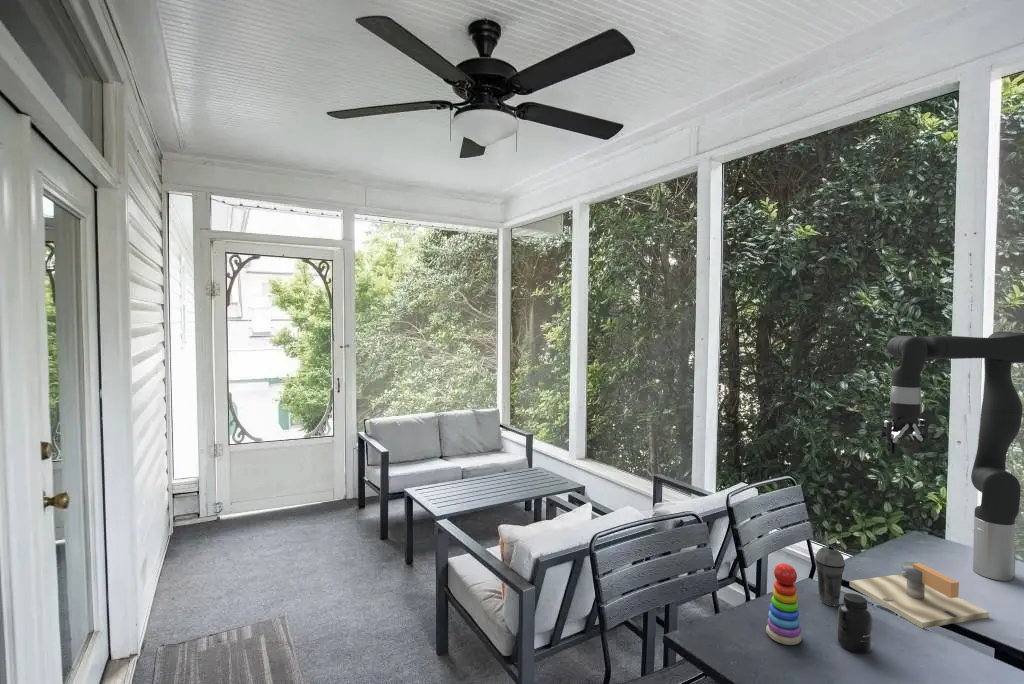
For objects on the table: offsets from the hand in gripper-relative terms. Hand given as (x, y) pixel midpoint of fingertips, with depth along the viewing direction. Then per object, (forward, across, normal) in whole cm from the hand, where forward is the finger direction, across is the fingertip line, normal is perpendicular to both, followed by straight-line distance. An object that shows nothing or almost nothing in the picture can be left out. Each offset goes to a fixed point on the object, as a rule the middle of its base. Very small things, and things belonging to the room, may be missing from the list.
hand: (904, 453), depth 161 cm
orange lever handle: (+31, +9, +17) cm, 37 cm away
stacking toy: (+38, +57, +22) cm, 72 cm away
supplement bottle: (+38, +43, +28) cm, 64 cm away
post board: (+38, +9, +14) cm, 41 cm away
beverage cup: (+38, +34, +10) cm, 52 cm away
